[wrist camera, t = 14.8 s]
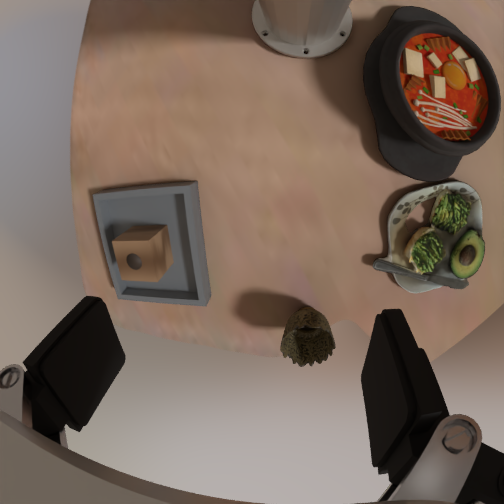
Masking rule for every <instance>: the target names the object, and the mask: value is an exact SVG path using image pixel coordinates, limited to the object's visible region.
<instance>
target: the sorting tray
mask: <svg viewBox="0 0 504 504" xmlns="http://www.w3.org/2000/svg"><path fill="white" fill-rule="evenodd" d="M93 200H94V205H95V210H96V215H97V220H98V225H99V230H100V234H101V238H102V243H103V247H104V251H105V255H106V259H107V263H108V266H109V270H110V274H111V277H112V281H113V284H114V287H115V291H116V294H117V297H118V299H123V300H133V301H144V302H155V303H167V304H180V305H195V306H207V304H208V301H209V299H210V297H211V290H210V283H209V275H208V268H207V260H206V253H205V245H204V236H203V228H202V219H201V210H200V201H199V192H198V181H188V182H175V183H162V184H151V185H141V186H132V187H123V188H114V189H106V190H102V191H100V192H97V193H95V194H93ZM147 225H167V226H168V232H169V238H170V244H171V250H172V255H173V261H174V263H173V264H172V265H171V267H170V268H169V269H168V270H167V271H166V273H165V274H164V275H163V276H162V278H161V279H160V280H159V281H158V282H145V281H127V280H122V279H121V275H120V272H119V268H118V264H117V260H116V256H115V252H114V248H113V244H112V241H113V240H114V239H115V238H117V237H118V236H120V235H121V234H122V233H124V232H125V231H126V230H128V229H129V228H131V227H132V226H147Z"/></svg>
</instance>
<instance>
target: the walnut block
mask: <svg viewBox="0 0 504 504" xmlns="http://www.w3.org/2000/svg"><path fill="white" fill-rule="evenodd" d="M112 244H113V248H114V252H115V256H116V260H117V264H118V268H119V272H120V275H121V279H122V280H127V281H145V282H158V281H159V280H160V279H161V278H162V276H163V275H164V274H165V273H166V271H167V270H168V269H169V268H170V267H171V265H172V264H173V263H174V261H173V255H172V250H171V244H170V238H169V232H168V226H167V225H147V226H132V227H131V228H129V229H128V230H126V231H125V232H124V233H122V234H121V235H120V236H118V237H117V238H115V239H114V240H113V241H112Z"/></svg>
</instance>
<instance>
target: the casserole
mask: <svg viewBox="0 0 504 504" xmlns="http://www.w3.org/2000/svg"><path fill="white" fill-rule="evenodd" d="M363 81H364V87H365V93H366V96H367V99H368V101H369V104H370V107H371V110H372V113H373V116H374V119H375V123H376V130H377V137H378V146H379V150H380V152H381V154H382V156H383V158H384V159H385V160H386V161H387V162H388V163H389V164H390V165H391V166H392V167H393V168H394V169H396V170H397V171H399V172H400V173H402V174H403V175H406V176H408V177H410V178H413V179H416V180H421V181H426V182H434V181H441V180H444V179H447V178H448V177H449V176H451V175H452V174H453V173H454V171H455V170H456V168H457V166H458V164H459V162H460V160H461V158H462V156H464V155H468V154H470V153H472V152H474V151H476V150H478V149H479V148H480V147H481V146H482V145H483V144H484V143H485V142H486V141H487V140H488V139H489V138H490V136H491V135H492V133H493V132H494V130H495V128H496V126H497V123H498V121H499V116H500V111H501V97H500V90H499V85H498V82H497V78H496V75H495V73H494V71H493V68H492V66H491V64H490V63H489V61H488V59H487V58H486V56H485V55H484V53H483V52H482V51H481V50H480V49H479V47H478V46H477V45H476V44H475V43H474V42H473V41H472V40H470V39H469V38H468V37H467V36H466V35H464V34H463V33H462V32H461V31H460V30H459V29H458V28H457V27H456V26H455V25H454V24H452V23H451V22H450V21H449V20H447V19H446V18H444V17H442V16H441V15H439V14H437V13H435V12H433V11H430V10H427V9H424V8H420V7H414V6H404V7H401V8H399V9H397V10H395V12H394V14H393V15H392V17H391V19H390V21H389V23H388V25H387V27H386V28H385V29H384V30H383V31H382V32H381V33H380V35H379V36H378V37H377V38H376V39H375V40H374V41H373V42H372V44H371V46H370V48H369V50H368V52H367V54H366V58H365V62H364V69H363Z"/></svg>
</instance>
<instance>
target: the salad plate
mask: <svg viewBox="0 0 504 504" xmlns="http://www.w3.org/2000/svg"><path fill="white" fill-rule="evenodd" d="M434 197H436V198H437V199H436V201H435V202H434V205H433V208H432V212H431V216H430V219H429V221H428V223H427V224H426V225H425V226H424V227H421V228H420V229H416V230H415V231H414V232H412V233H410V232H409V231H408V229H407V227H406V224H405V220H406V219H407V217H408V215H409V214H410V212H411V211H412V210H413V209H414V208H415V207H416V206H417V205H419V204H420V203H422V202H423V201H425V200H428V199H431V198H434ZM387 229H388V245H389V249H388V256H387V257H385V258H378V259H376V260H375V261H374V262H373V268H374V269H376V270H379V271H383V272H389V273H392V275H393V276H394V278H395V280H396V282H397V283H398V284H399V285H400V286H401V287H402V288H404V289H405V290H407V291H409V292H411V293H420V292H425V291H429V290H432V289H435V288H439V287H442V286H449V287H450V288H454V289H464V288H465V287H466V286H468V285H469V282H468V281H467V278H469V277H471V276H472V275H474V274H475V273H476V272H477V271H478V269H479V267H480V266H481V263H482V261H483V258H484V252H485V242H484V240H483V238H482V204H481V199H480V197H479V195H478V193H477V192H476V190H474V189H473V188H472V187H471V186H470V185H468V184H466V183H464V182H461V181H445V182H443V183H440V184H437V185H433V186H428V187H424V188H421V189H418V190H415V191H412V192H409V193H406V194H405V195H404V196H403V197H402V198H401V199H400V200H398V201H397V202H396V204H395V206H394V207H393V209H392V210H391V212H390V214H389V215H388V221H387Z"/></svg>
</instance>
